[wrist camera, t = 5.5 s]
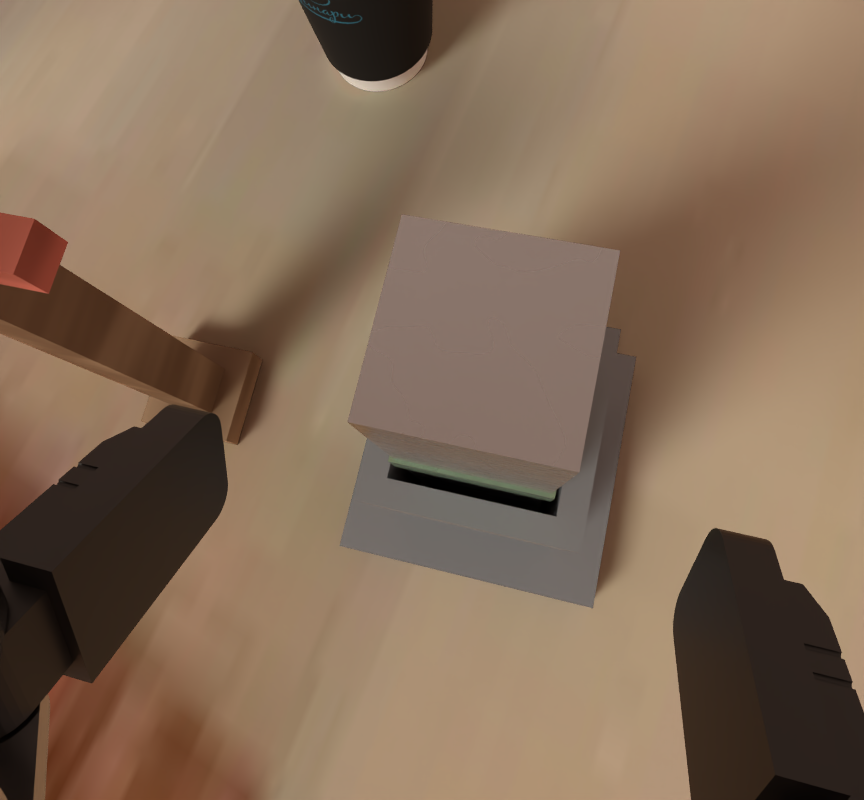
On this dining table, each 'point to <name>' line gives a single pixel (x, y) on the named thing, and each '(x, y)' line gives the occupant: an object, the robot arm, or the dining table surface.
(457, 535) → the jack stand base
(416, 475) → the steel column
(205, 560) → the dining table surface
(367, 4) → the dixie cup
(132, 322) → the height gauge
